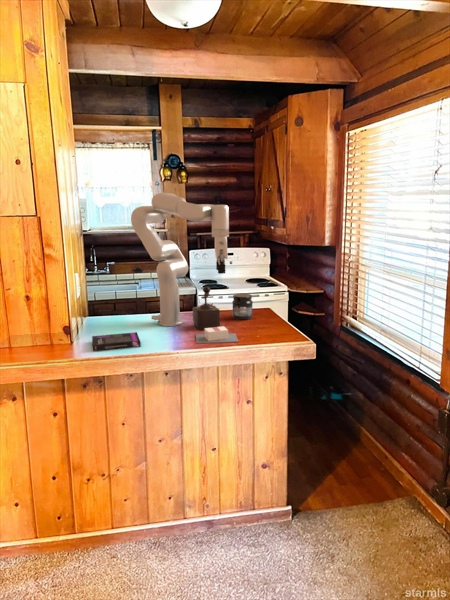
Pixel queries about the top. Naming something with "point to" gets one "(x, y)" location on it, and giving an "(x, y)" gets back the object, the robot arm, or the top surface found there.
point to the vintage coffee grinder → (206, 314)
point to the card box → (216, 333)
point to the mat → (201, 339)
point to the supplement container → (242, 306)
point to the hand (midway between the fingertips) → (220, 271)
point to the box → (115, 341)
